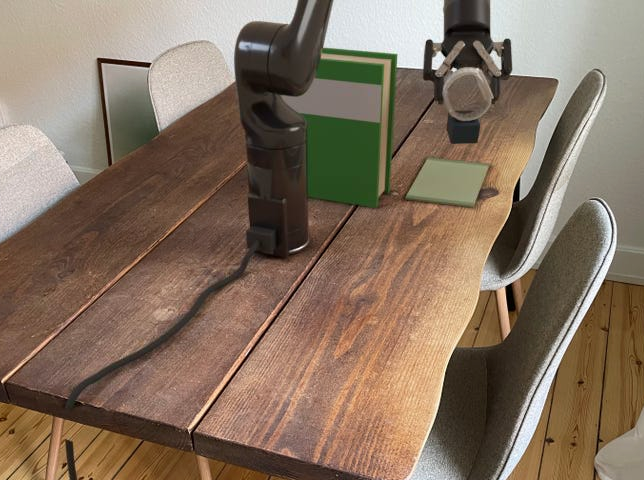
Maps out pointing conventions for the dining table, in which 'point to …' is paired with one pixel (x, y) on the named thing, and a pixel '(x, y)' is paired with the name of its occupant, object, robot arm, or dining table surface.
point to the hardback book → (350, 125)
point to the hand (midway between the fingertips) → (467, 102)
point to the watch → (466, 123)
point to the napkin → (448, 182)
